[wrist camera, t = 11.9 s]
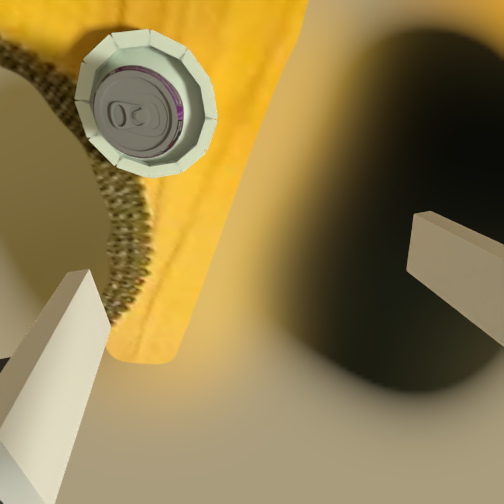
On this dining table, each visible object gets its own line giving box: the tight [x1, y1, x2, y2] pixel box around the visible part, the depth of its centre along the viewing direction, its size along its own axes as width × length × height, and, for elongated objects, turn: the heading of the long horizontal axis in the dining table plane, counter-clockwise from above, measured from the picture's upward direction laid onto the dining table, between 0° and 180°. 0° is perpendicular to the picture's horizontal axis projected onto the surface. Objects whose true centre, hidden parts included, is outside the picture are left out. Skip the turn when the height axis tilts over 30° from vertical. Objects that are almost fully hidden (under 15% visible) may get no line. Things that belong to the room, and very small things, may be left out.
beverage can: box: [93, 65, 184, 158], centre depth 30 cm, size 7×7×12 cm
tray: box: [74, 29, 218, 178], centre depth 35 cm, size 14×14×2 cm
